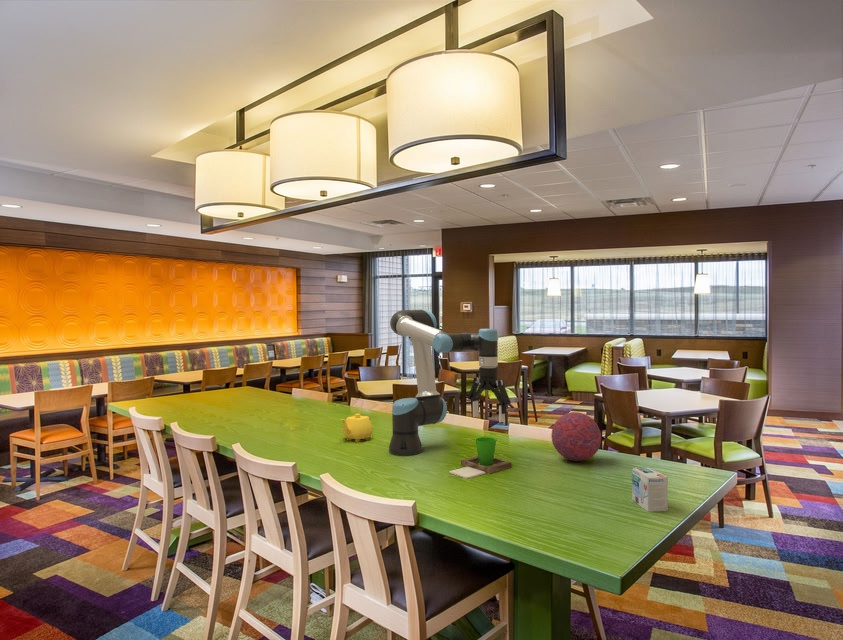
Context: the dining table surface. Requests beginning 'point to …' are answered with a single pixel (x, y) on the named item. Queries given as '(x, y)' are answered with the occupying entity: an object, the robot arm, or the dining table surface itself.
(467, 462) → the board
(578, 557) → the dining table surface
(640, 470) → the light bulb box
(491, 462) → the cup
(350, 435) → the teapot
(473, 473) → the coaster
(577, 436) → the decorative sphere
